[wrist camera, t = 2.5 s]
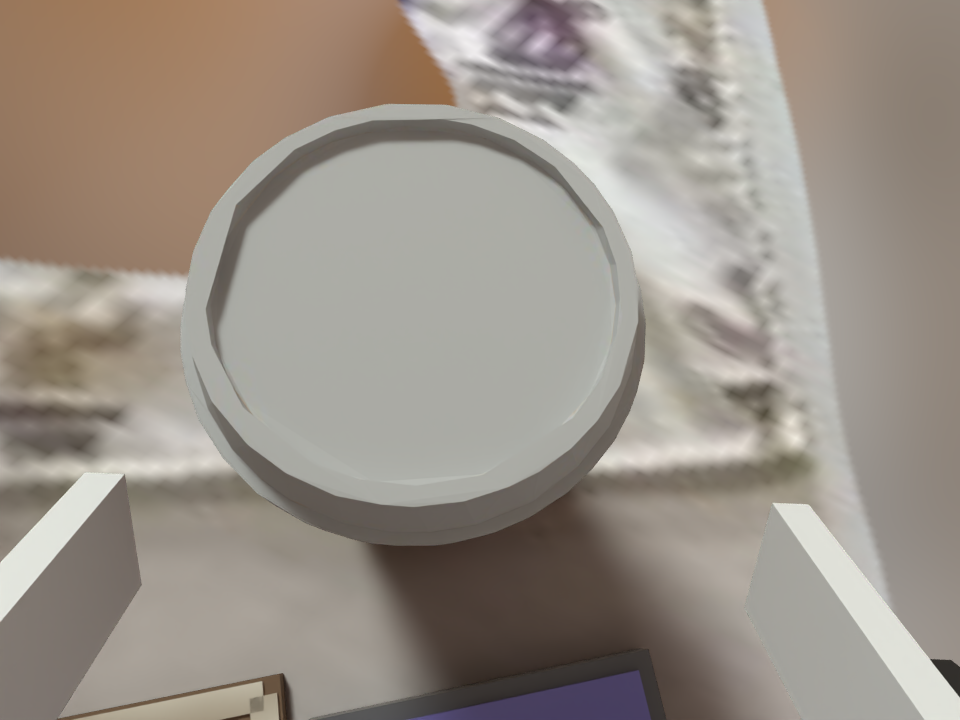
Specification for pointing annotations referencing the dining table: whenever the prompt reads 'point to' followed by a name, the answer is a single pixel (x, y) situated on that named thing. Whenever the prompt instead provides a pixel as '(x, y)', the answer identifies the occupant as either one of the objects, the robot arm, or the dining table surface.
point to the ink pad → (539, 695)
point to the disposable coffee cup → (412, 325)
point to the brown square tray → (207, 704)
